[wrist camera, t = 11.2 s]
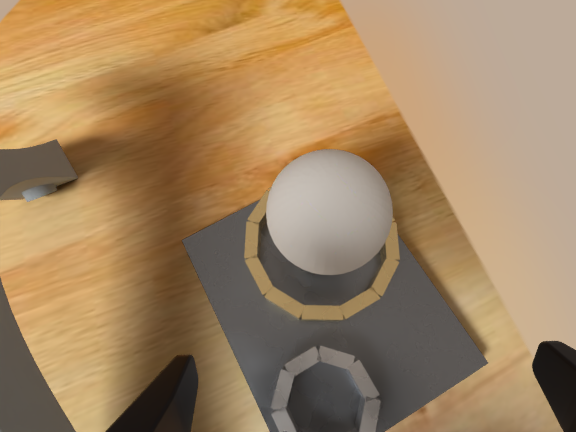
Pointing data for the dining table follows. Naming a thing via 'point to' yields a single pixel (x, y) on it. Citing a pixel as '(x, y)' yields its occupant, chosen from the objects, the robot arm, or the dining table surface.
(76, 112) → the dining table surface
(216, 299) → the plate
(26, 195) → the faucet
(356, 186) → the light bulb
